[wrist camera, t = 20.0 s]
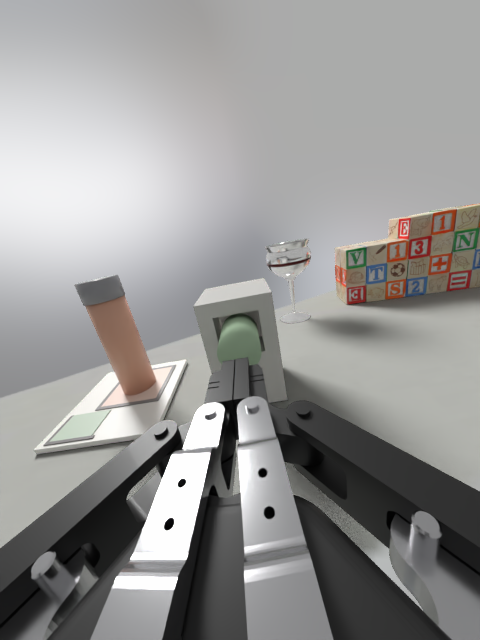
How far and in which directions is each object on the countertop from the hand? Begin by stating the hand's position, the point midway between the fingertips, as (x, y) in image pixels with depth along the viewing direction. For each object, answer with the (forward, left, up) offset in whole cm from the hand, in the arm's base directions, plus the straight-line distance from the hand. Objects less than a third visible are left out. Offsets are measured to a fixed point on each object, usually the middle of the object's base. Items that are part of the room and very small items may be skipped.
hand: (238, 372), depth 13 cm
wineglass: (+8, +25, -7) cm, 27 cm away
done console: (0, +8, -7) cm, 11 cm away
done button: (0, +4, -1) cm, 4 cm away
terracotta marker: (-13, +11, -6) cm, 18 cm away
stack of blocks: (+28, +28, -7) cm, 40 cm away
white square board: (-14, +9, -7) cm, 18 cm away
